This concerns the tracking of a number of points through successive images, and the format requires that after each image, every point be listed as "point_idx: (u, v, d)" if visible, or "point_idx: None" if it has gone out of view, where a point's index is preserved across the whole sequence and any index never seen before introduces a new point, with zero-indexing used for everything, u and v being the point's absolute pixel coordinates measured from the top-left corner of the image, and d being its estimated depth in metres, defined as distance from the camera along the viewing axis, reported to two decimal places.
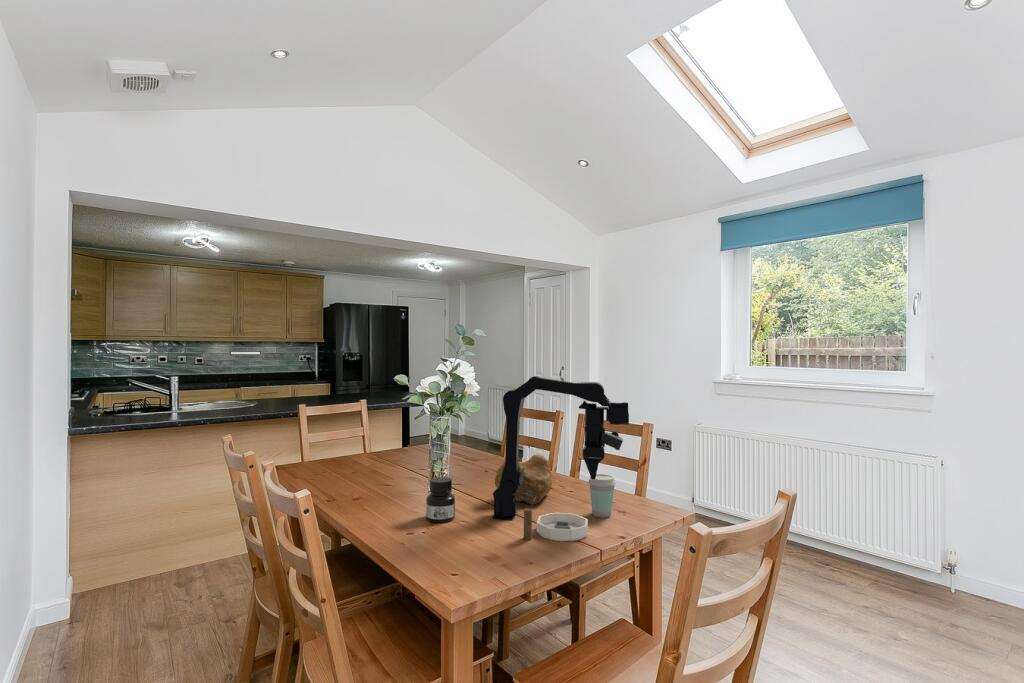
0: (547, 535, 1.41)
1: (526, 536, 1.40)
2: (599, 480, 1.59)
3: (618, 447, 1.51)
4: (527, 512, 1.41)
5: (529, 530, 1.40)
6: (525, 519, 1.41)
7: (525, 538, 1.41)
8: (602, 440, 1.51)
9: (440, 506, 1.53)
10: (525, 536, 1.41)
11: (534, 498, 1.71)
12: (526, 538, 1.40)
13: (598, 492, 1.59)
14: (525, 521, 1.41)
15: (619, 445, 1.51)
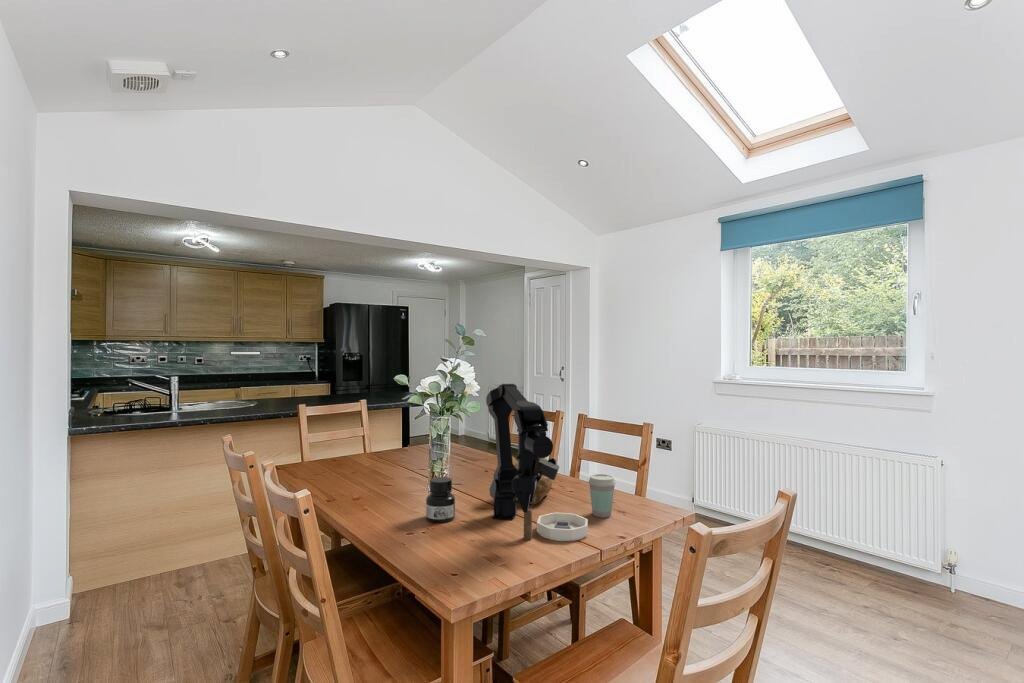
0: (547, 535, 1.41)
1: (526, 536, 1.40)
2: (599, 480, 1.59)
3: (552, 476, 1.38)
4: (527, 512, 1.41)
5: (529, 530, 1.40)
6: (525, 519, 1.41)
7: (525, 538, 1.41)
8: (535, 469, 1.38)
9: (440, 506, 1.53)
10: (525, 536, 1.41)
11: (534, 498, 1.71)
12: (526, 538, 1.40)
13: (598, 492, 1.59)
14: (525, 521, 1.41)
15: (554, 474, 1.38)
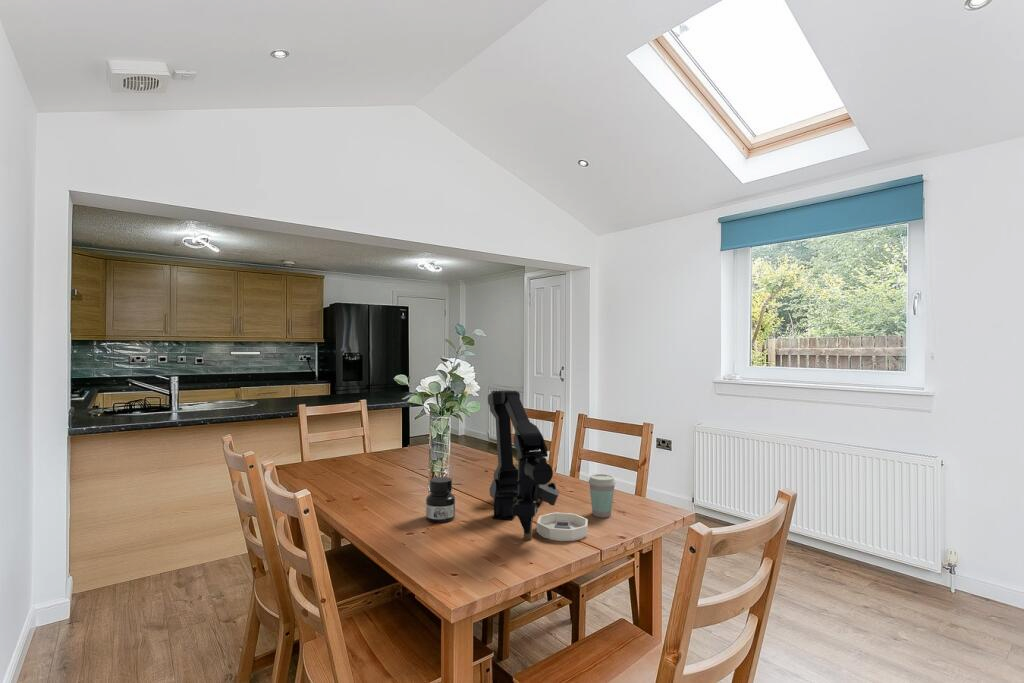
0: (547, 535, 1.41)
1: (526, 536, 1.40)
2: (599, 480, 1.59)
3: (552, 502, 1.38)
4: None
5: None
6: None
7: (525, 538, 1.41)
8: (535, 494, 1.38)
9: (440, 506, 1.53)
10: (525, 536, 1.41)
11: None
12: (526, 538, 1.40)
13: (598, 492, 1.59)
14: None
15: (554, 500, 1.38)
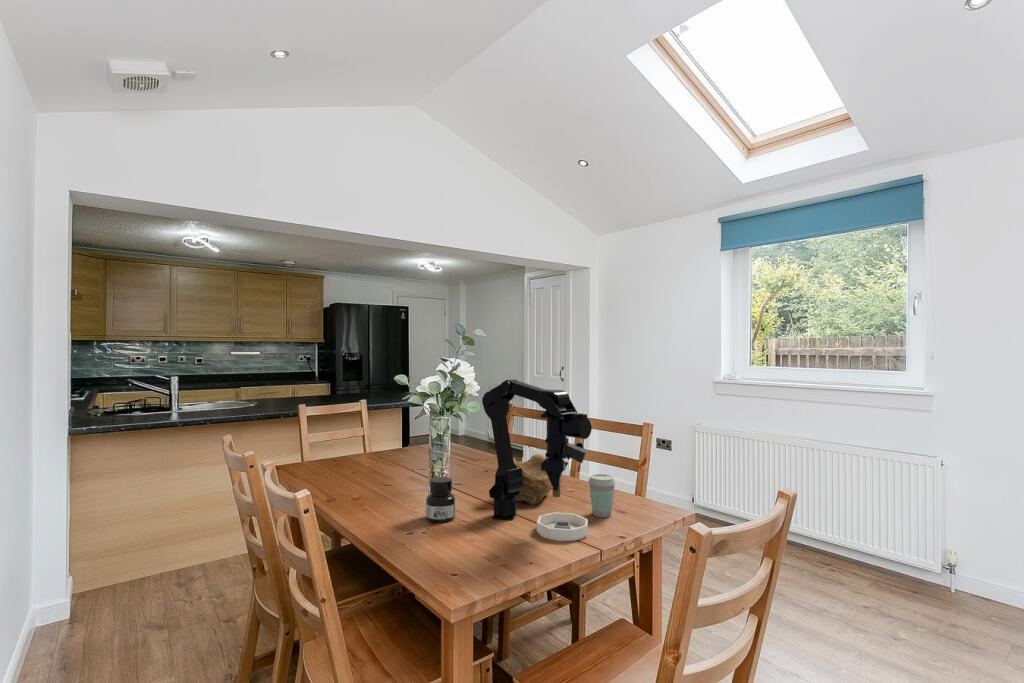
0: (547, 535, 1.41)
1: (555, 494, 1.45)
2: (599, 480, 1.59)
3: (580, 459, 1.42)
4: None
5: (558, 487, 1.44)
6: None
7: (554, 495, 1.45)
8: (564, 452, 1.42)
9: (440, 506, 1.53)
10: (554, 493, 1.45)
11: (534, 498, 1.71)
12: (555, 495, 1.45)
13: (598, 492, 1.59)
14: None
15: (582, 457, 1.42)
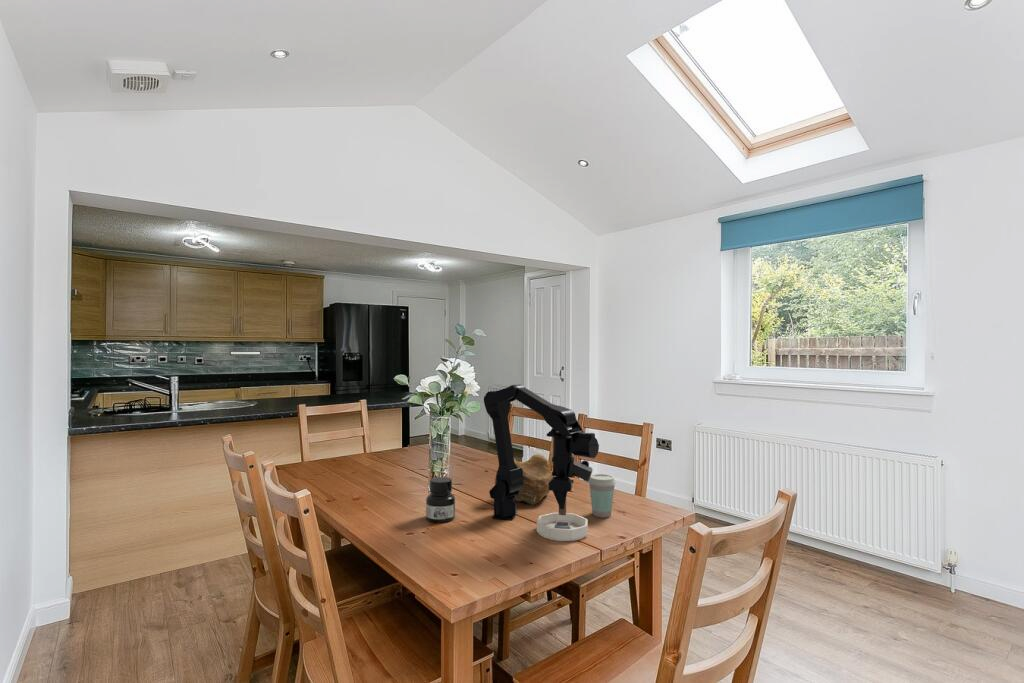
0: (547, 535, 1.41)
1: (561, 512, 1.46)
2: (599, 480, 1.59)
3: (587, 478, 1.43)
4: None
5: (564, 506, 1.46)
6: None
7: (560, 513, 1.46)
8: (570, 471, 1.44)
9: (440, 506, 1.53)
10: (560, 511, 1.46)
11: (534, 498, 1.71)
12: (561, 513, 1.46)
13: (598, 492, 1.59)
14: None
15: (588, 476, 1.43)
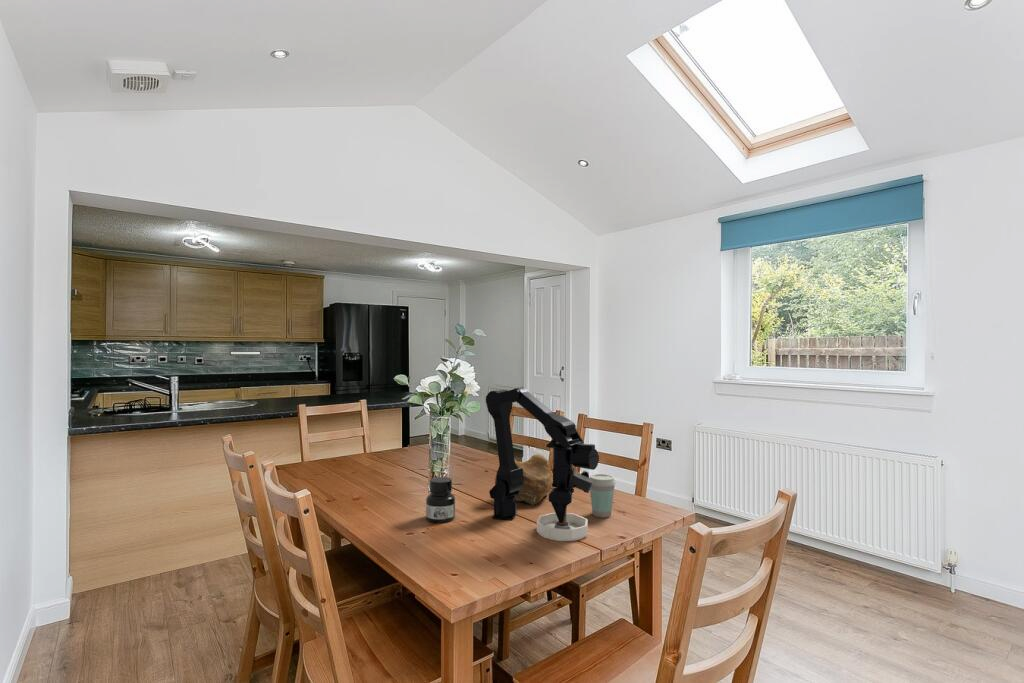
0: (547, 535, 1.41)
1: None
2: (599, 480, 1.59)
3: (587, 489, 1.43)
4: None
5: (564, 521, 1.46)
6: None
7: None
8: (570, 482, 1.44)
9: (440, 506, 1.53)
10: None
11: (534, 498, 1.71)
12: None
13: (598, 492, 1.59)
14: None
15: (588, 488, 1.43)
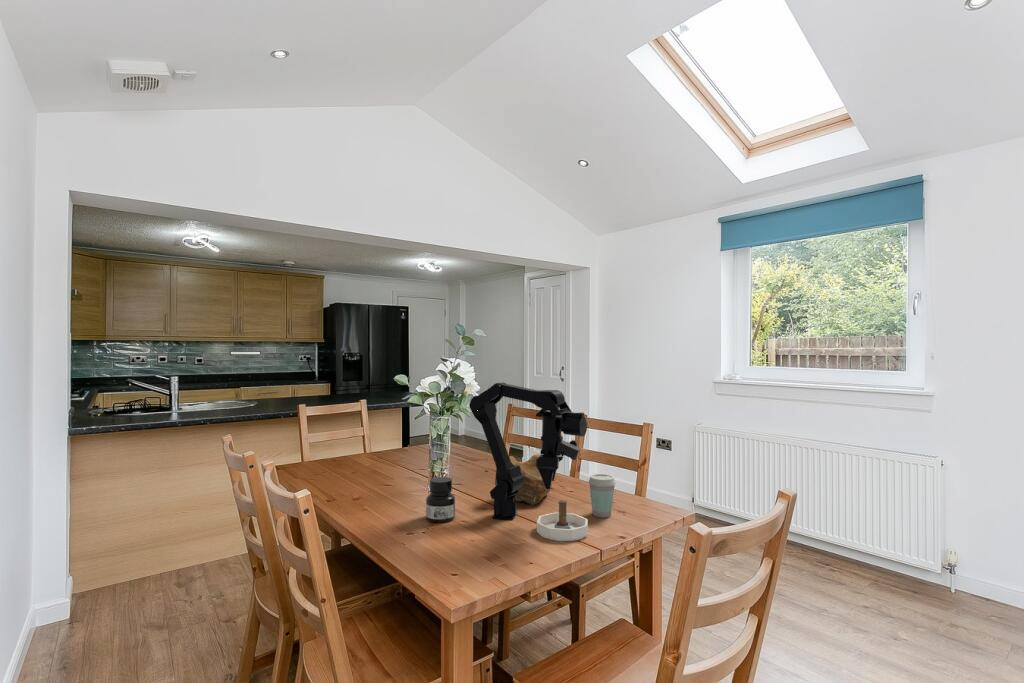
0: (547, 535, 1.41)
1: None
2: (599, 480, 1.59)
3: (574, 457, 1.48)
4: (562, 504, 1.46)
5: (564, 521, 1.46)
6: (560, 510, 1.46)
7: None
8: (558, 449, 1.49)
9: (440, 506, 1.53)
10: None
11: (534, 498, 1.71)
12: None
13: (598, 492, 1.59)
14: (560, 512, 1.46)
15: (575, 455, 1.48)
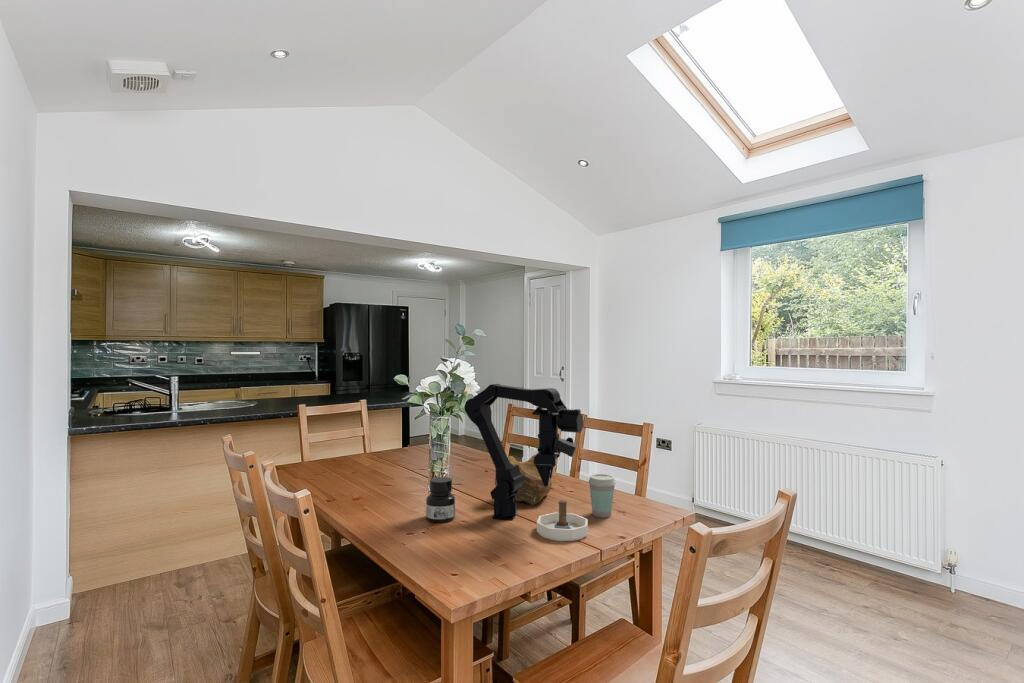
0: (547, 535, 1.41)
1: None
2: (599, 480, 1.59)
3: (571, 453, 1.50)
4: (562, 504, 1.46)
5: (564, 521, 1.46)
6: (560, 510, 1.46)
7: None
8: (555, 447, 1.50)
9: (440, 506, 1.53)
10: None
11: (534, 498, 1.71)
12: None
13: (598, 492, 1.59)
14: (560, 512, 1.46)
15: (572, 452, 1.50)
